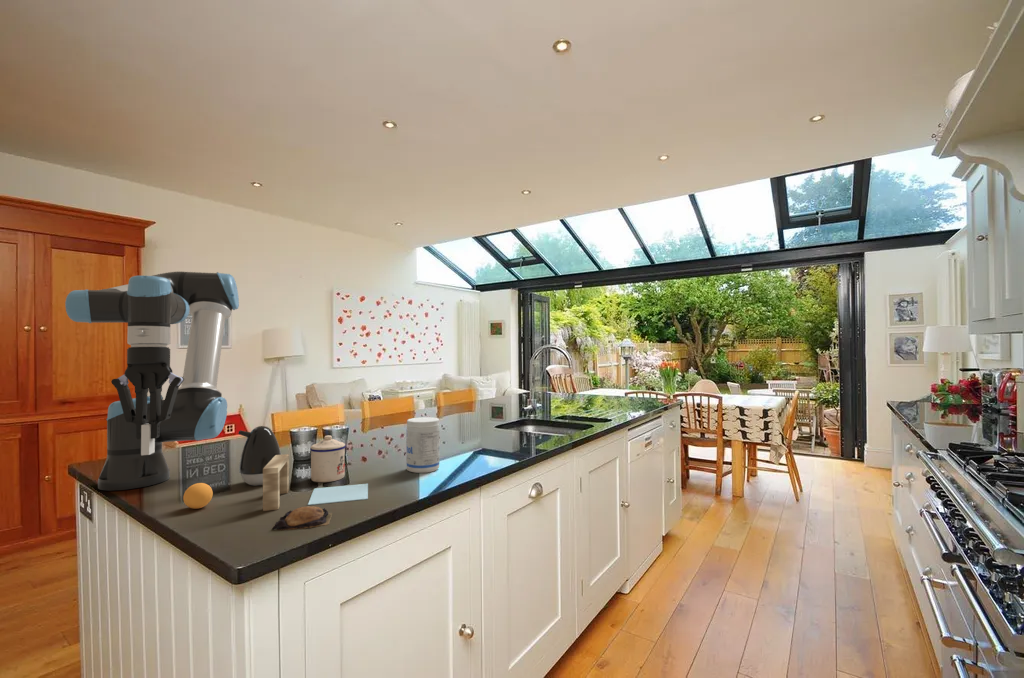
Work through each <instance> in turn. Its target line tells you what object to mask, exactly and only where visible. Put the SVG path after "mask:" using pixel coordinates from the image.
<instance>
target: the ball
mask: <svg viewBox="0 0 1024 678" xmlns="http://www.w3.org/2000/svg"><path fill="white" fill-rule="evenodd" d="M213 495H214V492H213V489H212V487H211V486H210V485H209V484H207V483H205V482H197V483H194V484H192V485H190V486H189V487H187V489H185V490H184V494H183V502H184V505H185V506H187V507H188V508H190V509H195V510H196V509H197V510H198V509H201V508H204V507H206V506H207V505H208V504H209V503H210V502H211V501H212V499H213Z"/></svg>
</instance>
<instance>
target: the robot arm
mask: <svg viewBox="0 0 1024 678" xmlns="http://www.w3.org/2000/svg"><path fill="white" fill-rule="evenodd" d="M237 286H238V285H237V283H236V280H235V277H234V276H233V275H231V274H230V273H223V272H222V273H221V272H218V271H217V272H196V271H194V272H193V271H170V272H163V273H158V274H152V275H134V276H131V277H130V278H129V279H128V284H127V283H126V284H124V285H123V284H122V285H119V286H114V287H109V288H103V289H92V290H91V289H78V290H77V289H75V290H71V291H70V292H69V293H68V294H67V296H66V297H65V302H64V303H65V304H64V305H65V312H66V314H67V316H68V318H69V319H70V320H71V321H73V322H76V323H88V324H94V323H96V324H99V323H101V324H103V323H113V324H114V323H119V324H121V323H126V324H127V339H126V340H127V342H126V343H127V344H128V345H130V347H128V348H127V349H126V365H127V367H126V369H125V370H124V373H123V374H122V375H120V376H119V377H117V378H112V379H111V380H110V381H111V385H113V387H114V388H115V389H116V391H117V394H118V399H119V400H117V401H114V402H112V403H110V404H109V406H108V408H107V418H106V419H105V420H106V445H107V446H106V459H105V462H104V465H103V467H102V468H101V472H100V474H99V477H98V479H97V489H98V490H101V491H107V492H108V491H125V490H131V489H138V488H139V489H140V488H144V487H149V486H153V485H158V484H161V483H164V482H166V481H168V480H169V479H170V475H171V473H170V472H171V470H170V468H169V464H168V463H167V460H166V457H165V455H164V453H163V443H168V442H169V443H171V442H186V441H197V442H198V441H202V440H209V439H215V438H216V437H218V436H219V435H220V433H221V432H222V431H223V429H224V426H225V424H226V420H227V415H228V402H227V399H226V398H225V397H223V396H222V392H221V391H220V390H219V389H218V387H217V385H218V379H219V371H220V370H219V369H220V364H221V363H220V361H221V355H222V345H223V338H224V329H225V320H228V319H229V318H230V317H231V315H232V310H233V311H235V310H238V309H239V307H240V302H239V301H240V299H239V292H238V287H237ZM189 315H191V322H190V330H189V336H188V340H187V348H186V355H185V360H184V368H183V372H182V373H183V374H182V376H179V375H177V374H175V373H173V369H172V368H171V349H170V347H168V346H169V345H171V325H177V324H179V323H182V322H184V321H185V320H186V319H187V318H188V316H189ZM166 382H168V383H169V385H168V387H167V389H166V394H165V396H164V397H163V395H162V392H163V386H164V384H165V383H166ZM129 383H131V384H132V386H133V387H134V393H135V397H132V392H131V389H130V387H129ZM148 393H149V395H148Z"/></svg>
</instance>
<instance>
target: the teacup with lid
mask: <svg viewBox="0 0 1024 678" xmlns="http://www.w3.org/2000/svg"><path fill="white" fill-rule="evenodd" d="M345 448H346V443H345V442H342V441H338V440H337V439H334V438H333V437H332V435H329V434H328V435H325V436H324V438H323V439H322V440H319V442H317V443H314V444H312V445H311V446H310V449H309V450H310V478H311V479H310V480H311V481H312V482H314V483H330V482H336V481H339V480H342V479H343V478H344V477H345V476H346V475H345V474H346V468H345V467H346V465H345V464H346V461H345V460H346V459H345V457H346V456H345V455H346V453H345V452H346V449H345Z"/></svg>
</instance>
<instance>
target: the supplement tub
mask: <svg viewBox="0 0 1024 678" xmlns="http://www.w3.org/2000/svg"><path fill="white" fill-rule="evenodd" d="M439 468H440V419H439V418H437V417H433V416H432V417H428V416H423V417H413V418H408V419H407V420H406V470H407V471H409V472H410V473H416V474H425V473H427V474H428V473H432V472H435V471H437V470H439Z"/></svg>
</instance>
